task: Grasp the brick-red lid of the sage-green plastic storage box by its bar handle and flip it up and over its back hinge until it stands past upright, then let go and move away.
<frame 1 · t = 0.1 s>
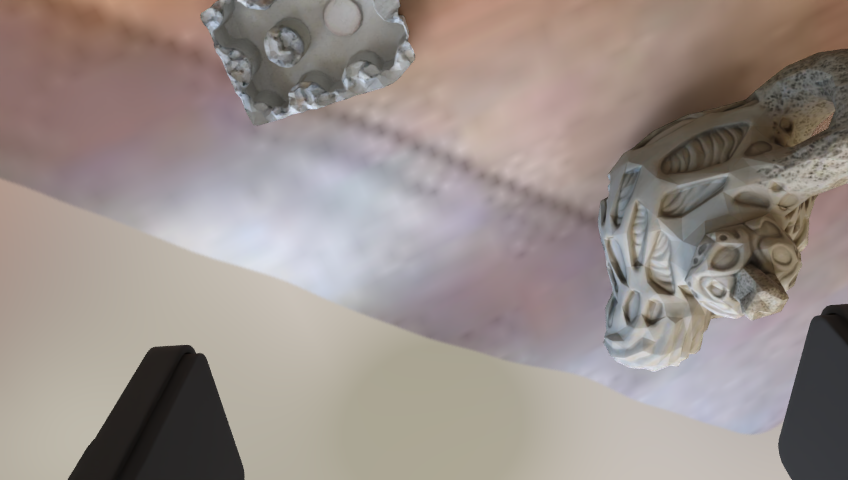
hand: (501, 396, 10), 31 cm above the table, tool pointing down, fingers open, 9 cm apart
egg carton: (319, 29, 38), on the table
teapot: (674, 169, 42), on the table
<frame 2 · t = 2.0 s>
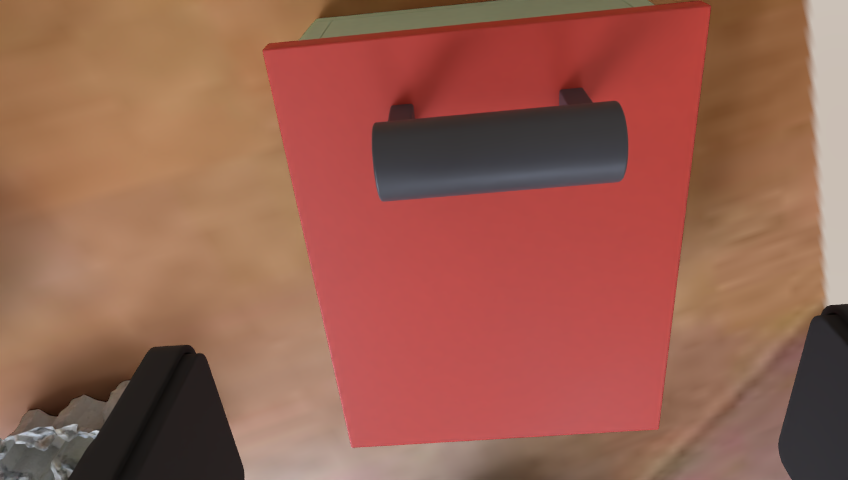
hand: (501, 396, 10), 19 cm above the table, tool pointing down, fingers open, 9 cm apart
lid: (499, 304, 20), point 11 cm above the table, hinge at 0.0°
egg carton: (115, 432, 38), on the table
storage box: (479, 178, 29), on the table
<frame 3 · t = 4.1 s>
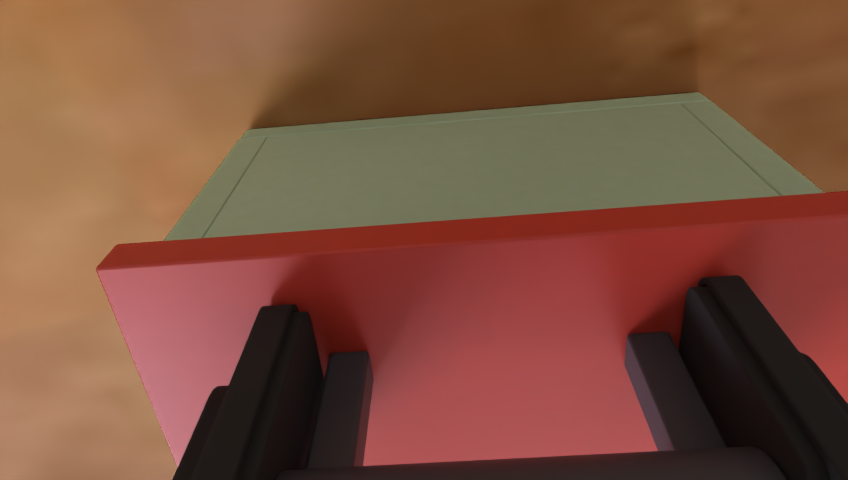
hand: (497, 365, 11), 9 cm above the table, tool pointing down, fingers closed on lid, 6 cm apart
storage box: (481, 332, 21), on the table
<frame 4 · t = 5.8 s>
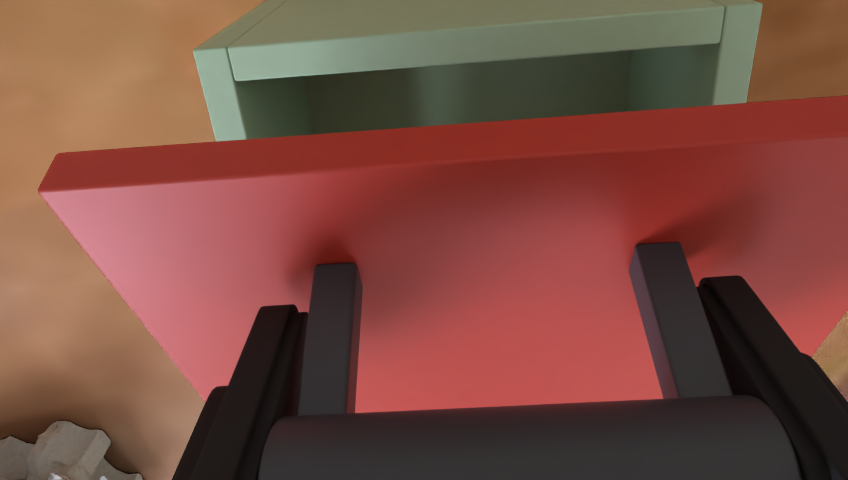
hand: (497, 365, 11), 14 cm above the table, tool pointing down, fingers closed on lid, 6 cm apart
egg carton: (49, 477, 33), on the table
storage box: (470, 194, 24), on the table
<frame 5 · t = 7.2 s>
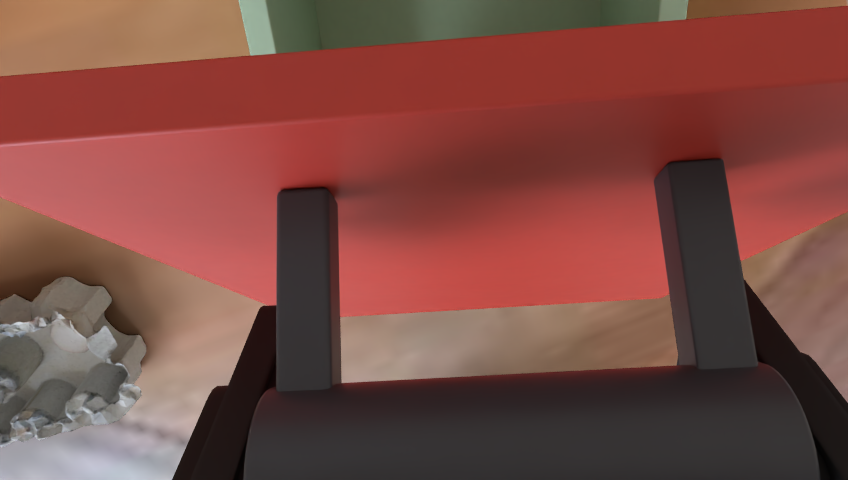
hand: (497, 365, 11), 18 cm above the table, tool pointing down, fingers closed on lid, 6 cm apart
lid: (490, 348, 14), point 16 cm above the table, hinge at 47.1°, touching gripper
egg carton: (52, 342, 34), on the table
storage box: (458, 21, 25), on the table
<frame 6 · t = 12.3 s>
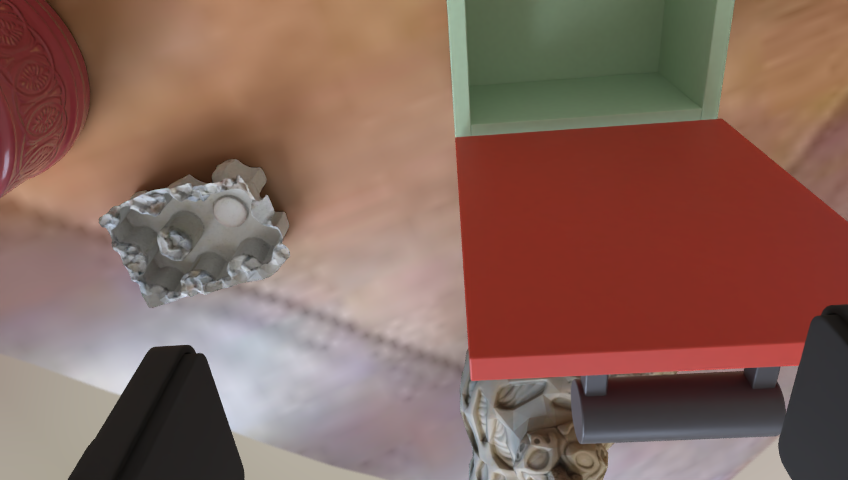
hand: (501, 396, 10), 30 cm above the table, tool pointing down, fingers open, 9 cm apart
lid: (627, 264, 24), point 16 cm above the table, hinge at 90.4°
egg carton: (211, 219, 42), on the table
teapot: (538, 332, 46), on the table
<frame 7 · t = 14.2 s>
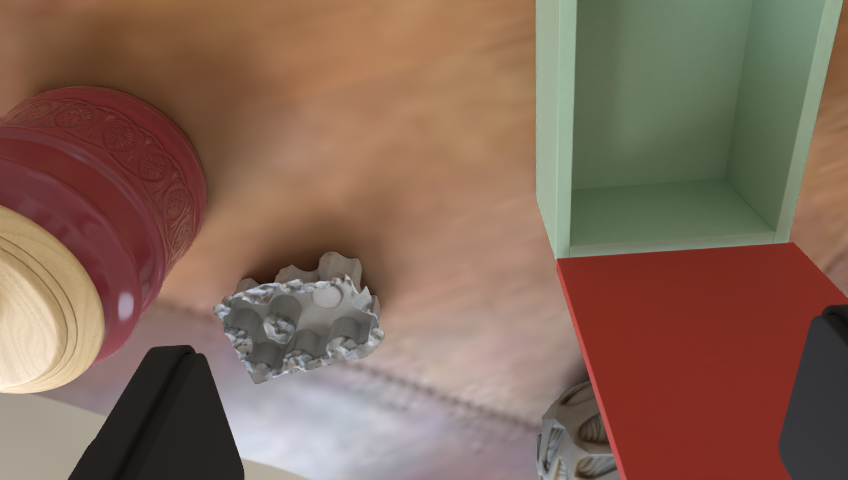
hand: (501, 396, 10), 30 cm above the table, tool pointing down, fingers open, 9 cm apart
kitchen canister: (114, 176, 42), on the table
lid: (727, 394, 28), point 16 cm above the table, hinge at 90.4°
egg carton: (308, 301, 47), on the table
storage box: (641, 73, 38), on the table
teapot: (601, 394, 51), on the table
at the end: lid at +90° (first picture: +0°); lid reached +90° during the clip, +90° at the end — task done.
